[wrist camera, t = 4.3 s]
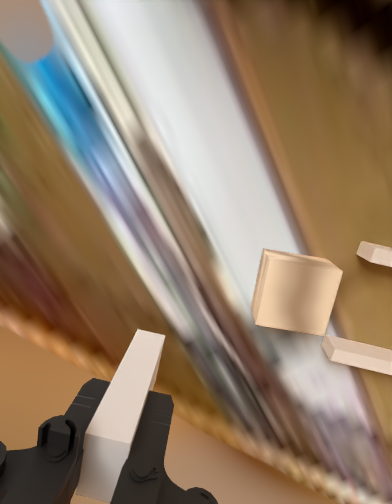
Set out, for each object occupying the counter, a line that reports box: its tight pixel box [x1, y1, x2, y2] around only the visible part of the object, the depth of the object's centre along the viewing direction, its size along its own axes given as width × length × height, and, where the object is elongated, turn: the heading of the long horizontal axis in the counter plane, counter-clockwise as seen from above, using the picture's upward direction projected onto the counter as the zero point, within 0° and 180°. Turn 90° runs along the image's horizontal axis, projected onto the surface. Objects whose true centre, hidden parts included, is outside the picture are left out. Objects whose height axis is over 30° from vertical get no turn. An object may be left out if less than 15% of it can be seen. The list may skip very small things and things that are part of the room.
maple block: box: [251, 249, 343, 336], centre depth 31 cm, size 7×7×4 cm
